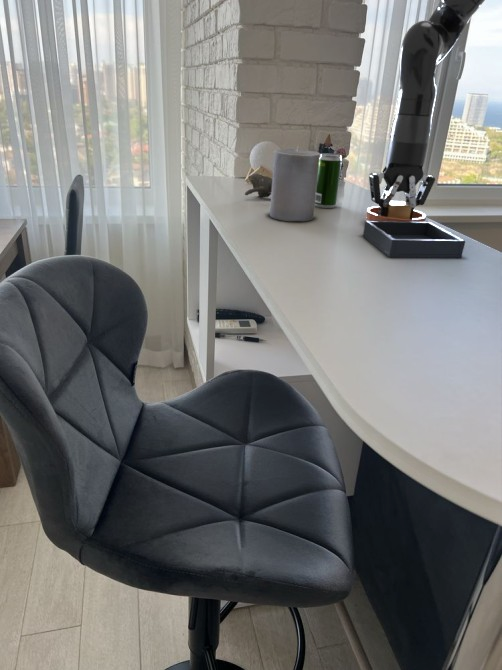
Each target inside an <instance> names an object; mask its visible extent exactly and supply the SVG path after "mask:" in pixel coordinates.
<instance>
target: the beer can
mask: <svg viewBox="0 0 502 670" xmlns="http://www.w3.org/2000/svg"><path fill="white" fill-rule="evenodd" d="M342 160H343V159H342V155H341V154H338V153H325V152H324V153H323V152H322V153H320V159H319V168H318V177H317V187H316V197H315V207H317V208H320V209H335V207H336V206H337V202H338V201H337V200H338V193H339V187H340V179H341V178H340V176H341V169H342V168H341V167H342Z"/></svg>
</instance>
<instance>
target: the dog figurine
mask: <svg viewBox="0 0 502 670" xmlns="http://www.w3.org/2000/svg"><path fill="white" fill-rule="evenodd" d="M247 178H248V180H249V183H250V184H252V188H250V189H248V190H246V191H245V192H244V195H245V196H248V195H252V194H253V193H257V198H269V197H271V191H272V177H270V176H268V175H263V174H261V173H252V174H250V175H248V177H247Z"/></svg>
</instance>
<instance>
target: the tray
mask: <svg viewBox="0 0 502 670" xmlns="http://www.w3.org/2000/svg"><path fill="white" fill-rule="evenodd" d="M362 237H363V238H365V239H366V240H367V241H368V242H369V243H371V244H372V245H374V247H375V248H377V249H378V250H379V251H380V252H382V253H383V254H384V255H386V256H387V257H388V258H403V259H404V258H405V259H406V258H409V259H411V258H414V259H415V258H417V259H418V258H421V259H425V258H427V259H428V258H429V259H450V258H451V259H461V258H462V257H463V253H464V248H465V244H466V240H464V239H462V238H461V237H459V236H457V235H455V234H453V233H452V232H450V231H448V230H446V229H445V228H442V227H441V226H439V225H436V224H435V223H433V222H431V221H425V222H403V221H365V220H364V227H363V234H362Z"/></svg>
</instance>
